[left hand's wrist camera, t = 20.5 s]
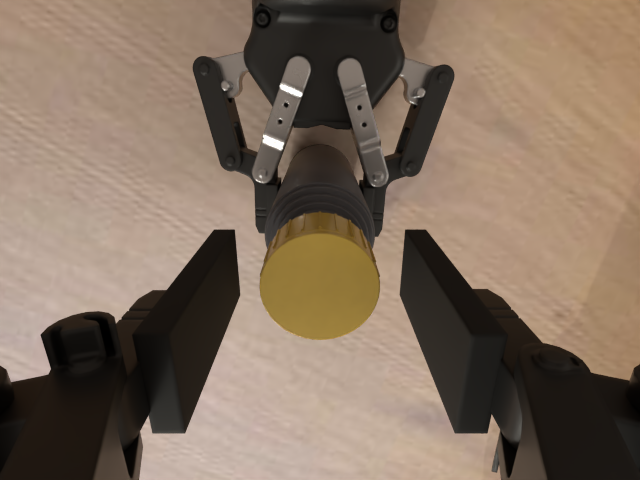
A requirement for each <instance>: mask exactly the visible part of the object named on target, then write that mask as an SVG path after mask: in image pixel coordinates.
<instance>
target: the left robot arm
mask: <svg viewBox="0 0 640 480" xmlns="http://www.w3.org/2000/svg"><path fill="white" fill-rule="evenodd" d="M239 297H240V286H239V274H238V262H237V251H236V239H235V230H214V231H213V232H212V233H211V234H210V236H209V237H208V238H207V239H206V241H205V242H204V243H203V245H202V246H201V247H200V248H199V250H198V251H197V252H196V253H195V255H194V256H193V257H192V259H191V260H190V261H189V262H188V264H187V265H186V266H185V267H184V269H183V270H182V271H181V273H180V274H179V275H178V276H177V278H176V279H175V280H174V281H173V283H172V284H171V285H170V287H169V288H168V289H167V290H153V291H151V292H149V293H148V294H146V295H144V296H142V297H141V298H139V299H138V300H137V301H136V302H135V303H134V304H133V305H132V307H131V308H130V309H129V311H127V312H126V313H125V314H124V316H123V317H122V320H119V321H118V322H117V323H116V322H115V318H114V316H112V315H111V314H109V313H105V312H100V311H97V312H85V313H80V314H76V315H72V316H69V317H67V318H64V319H62V320H59V321H57V322H56V323H54V324H52V325H51V326H49V327H48V328H47V329H46V330H45V331H44V332H43V333H42V334H41V338H42V341H43V344H44V347H45V351H46V354H47V357H48V360H49V364H50V367H51V370H50V372H49V374H48V375H45V376H40V377H35V378H30V379H25V380H20V381H15V382H11V381H10V378H9V376H8V373H7V370H6V369H4V368H3V367H1V366H0V480H139V475H140V467H141V459H142V450H143V444H142V438H141V434H140V430H141V428H142V426H143V425H144V423H145V421H146V419H147V417H148V415H149V419H150V424H151V428H152V433H185V432H186V430H187V427H188V425H189V422H190V420H191V417H192V415H193V412H194V410H195V407H196V405H197V402H198V400H199V397H200V395H201V392H202V390H203V387H204V385H205V382H206V380H207V377H208V374H209V372H210V369H211V367H212V364H213V362H214V359H215V357H216V354H217V352H218V349H219V347H220V344H221V342H222V339H223V337H224V334H225V332H226V329H227V327H228V324H229V322H230V319H231V317H232V314H233V312H234V309H235V307H236V304H237V302H238V299H239ZM400 297H401V299H402V302H403V304H404V307H405V309H406V312H407V314H408V317H409V319H410V322H411V324H412V327H413V329H414V332H415V334H416V337H417V339H418V342H419V344H420V347H421V349H422V352H423V354H424V357H425V359H426V362H427V364H428V367H429V369H430V372H431V375H432V377H433V380H434V382H435V385H436V387H437V390H438V392H439V395H440V397H441V400H442V402H443V405H444V407H445V410H446V412H447V415H448V417H449V420H450V422H451V425H452V427H453V430H454V432H455V433H488V428H489V424H490V419H491V414H492V415H493V417H494V419H495V421H496V423H497V424H498V426H499V428H500V434H499V438H498V443H497V447H496V452H495V456H494V460H493V466H492V471H493V472H496V473H497V470H498V466H500V474H501V480H640V365H638V366H637V367H635V368H634V370H633V373H632V376H631V378H630V381H628V380H623V379H618V378H613V377H608V376H603V375H598V374H594V373H591V372H590V370H589V368H588V367H587V365H586V364H585V363H584V362H583V360H581V359H580V358H578V357H577V356H576V355H574V354H573V353H571V352H569V351H567V350H564V349H562V348H560V347H557V346H553V345H549V344H545V343H542V342H541V341H540V340H539V338H538V337H537V336H536V335H535V334H534V333H533V332H532V331H531V330H530V328H529V327H528V326H527V325H526V324H525V323H524V322H523V321H522V319H521V318H519V316H518V315H517V314H516V313H515V312H514V311H513V310H511V307H510V306H509V305H508V304H507V303H506V302H505V301H504V299H503V298H502V297H500V296H498V295H496V294H495V293H493V292H491V291H490V290H488V289H472V288H471V287H470V285H469V284H468V283H467V281H466V280H465V279H464V278H463V276H462V275H461V274H460V273H459V271H458V270H457V269H456V267H455V266H454V265H453V264H452V262H451V261H450V260H449V259H448V257H447V256H446V255H445V253H444V252H443V251H442V250H441V248H440V247H439V246H438V245H437V243H436V242H435V241H434V239H433V238H432V237H431V236H430V234H429V233H428V232H427V231H426V230H405V239H404V251H403V262H402V274H401V286H400Z"/></svg>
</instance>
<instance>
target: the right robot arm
mask: <svg viewBox="0 0 640 480" xmlns="http://www.w3.org/2000/svg"><path fill="white" fill-rule="evenodd" d="M400 1H401V0H252V12H253V22H252V29H251V33H250V36H249V38H248V41H247V42H246V44H245V47H244V52H240V53H235V54H231V55H226V56H222V57H218V58H211V57H206V56H201V57H198V58H197V59H196V60H195V61H194V63H193V72H194V76H195V79H196V82H197V86H198V89H199V93H200V96H201V99H202V103H203V106H204V110H205V113H206V117H207V120H208V123H209V127H210V130H211V134H212V137H213V140H214V144H215V147H216V151H217V154H218V158H219V161H220V164H221V166H222V167H223V168H224V169H225V170H227V171H237V172H240V173H242V174H245V175H247V176H249V177H250V178H251V179H252V181H253V183H254V186H255V215H256V227H257V229H258V232H259V233H265V225H266V221H267V217H268V215H269V212H270V210H271V208H272V205H273V203H274V201H275V198H276V196H277V194H278V191H279V189H280V187H281V178H279V177H278V165H279V162H280V160H281V157H282V154H283V151H284V149H285V146H286V144H287V141H288V139H289V136H290V133H291V131H292V128H293V126H294V128H310V127H314V126H318V125H325V126H328V127H332V128H335V129H350V130H351V133H352V136H353V140H354V143H355V145H356V149H357V152H358V155H359V159H360V162H361V165H362V169H363V172H364V176H363V180H360V181H359V187H360V190H361V192H362V194H363V197H364V199H365V201H366V204H367V206H368V208H369V211H370V213H371V216H372V218H373V222H374V227H375V237H378V236H379V234H380V232H381V230H382V224H383V213H384V203H385V193H386V188H387V186H388V185H389V183H390V182H392V181H393V180H396V179H399V178H402V177H405V176H408V177H413V176H415V175H417V174H418V173H419V172H420V170H421V168H422V165H423V162H424V159H425V157H426V154H427V151H428V149H429V146H430V143H431V140H432V138H433V135H434V132H435V129H436V127H437V124H438V121H439V119H440V116H441V113H442V110H443V108H444V105H445V102H446V100H447V97H448V94H449V91H450V89H451V86H452V83H453V80H454V71H453V69H452V68H451V67H450V66H448V65H439V66H435V67H433V66H430V65H427V64H424V63H420V62H417V61H414V60H411V59H407V58H405V54H404V50H403V48H402V45H401V43H400V39H399V34H398V23H399V11H400ZM247 72H250V74H251V75H252V77H253V78H254V80H255V81H256V83H257V84H258V86H259V87H260V89H261V90H262V92H263V93H264V94H265V96H266V97H267V99H268V100H269V102H270V103H271V105H272V106H273V108H272V111H271V114H270V117H269V120H268V123H267V125H266V128H265V131H264V134H263V138H262V142H261V145H260V148H259V151H258V152H255V151H253V150H250V149H248V148H247V145H246V142H245V138H244V134H243V130H242V126H241V123H240V119H239V115H238V111H237V107H236V104H235V100H234V98H235V97H237V96H239V95H240V94H241V92H242V79H243V76H244V75H245V74H246V73H247ZM398 77H399V78H400V79H401V80H402V81H403V83H404V92H403V96H404V99H405V101H406V102H407V103H409V104H411V105H410V108H409V111H408V114H407V117H406V120H405V123H404V126H403V129H402V132H401V135H400V138H399V141H398V144H397V147H396V150H395V153H394V154H391V155H388V156H385V157H384V155H383V152H382V148H381V141H380V137H379V133H378V129H377V125H376V122H375V118H374V114H373V111H372V110H373V109H374V107H375V106H376V105H377V104H378V102H379V101H380V100H381V99H382V97H383V96H384V95H385V93H386V92H387V91H388V90H389V88H390V87H391V86H392V85H393V83H394V82H395V81H396V79H397V78H398Z"/></svg>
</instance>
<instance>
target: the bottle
mask: <svg viewBox="0 0 640 480" xmlns="http://www.w3.org/2000/svg"><path fill="white" fill-rule="evenodd" d="M319 211H321V212H323V213H331V214H337V215H338V216H341V217H343V218H345V219H347V220H351V222H352V223H353V224H354V225H355V226H357V227H358V228H359V229H361V230H362V231H363V234H364V236H365V238H366V240H367V242H368V241H369V242H370V245H371V248H373V245H374V240H375V227H374V222H373V218H372V216H371V213H370V211H369V208H368V206H367V204H366V201H365V199H364V197H363V194H362V192H361V190H360V187H359V185H358V183H357V180H356V178H355V175H354V173H353V171H352V168H351V166H350V164H349V162H348V160H347V159H346V157H345V156H344V155H343V154H342V153H341V152H340V151H339V150H337V149H335V148H333V147H331V146H327V145H313V146H309V147H307V148H305V149H303V150H301V151H300V152H299V153H298V154H297V155H296V156H295V157H294V158H293V160H292V161H291V163H290V166H289V168H288V170H287V173H286V175H285V177H284V180H283V182H282V184H281V187H280V189H279V191H278V194H277V196H276V198H275V201H274V203H273V205H272V208H271V210H270V212H269V215H268V217H267V221H266V225H265V241H266V246H267V249H268V247H269V244H270V241H273V239H274V237H275V235H276V234H277V230H278V229H281V228H282V227H283V226H284V225H285V224H287V223H288V222H289V220H290V219H291V220H293V219H294V218H297V217H299V216H301V215H303V214H304V213H305V214H309V213H317V212H319Z"/></svg>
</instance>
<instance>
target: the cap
mask: <svg viewBox="0 0 640 480" xmlns="http://www.w3.org/2000/svg"><path fill="white" fill-rule="evenodd" d="M375 262H376V260H375V257H374V254H373V251H372V248H371V245H370V242H369V241H368V242H367V240H366V238H365V236H364V234H363V231H362V230H361V229H359V228H358V227H357V226H355V225H354V224H353V223H352V222H351V220H347V219H345V218H343V217H341V216H338V215H337V214H331V213H323V212H321V211H319V212H317V213H309V214H305V213H304V214H303V215H301V216H299V217H297V218H294V219H293V220H291V219H290V220H289V222H288V223H287V224H285V225H284V226H283V227H282V228H281V229H278V230H277V234H276V235H275V237H274V239H273V241H270V244H269V247H268V250H267V253H266V256H265V258H264V264H263V267H262V270H261V273H260V277H261V278H260V295H261V299H262V302H263V305H264V307H265V309H266V311H267V312H268V314H269V316H270V317H271V318H272V319H273V320H274V321H275V322H276V323H277V324H278V325H279V326H280V327H282V328H283V329H284V330H286V331H288V332H290V333H291V334H294V335H296V336H299V337H303V338H307V339H314V340H326V339H333V338H337V337H341V336H343V335H346V334H348V333H350V332H352V331H354V330H355V329H357V328H358V327H359V326H361V325H362V324H363V323H364V322H365V321H366V320H367V319H368V317H369V316H370V315H371V313H372V312H373V310H374V308H375V306H376V304H377V301H378V298H379V292H380V280H379V277H380V275H379V272H378V269H377V266H376V263H375Z"/></svg>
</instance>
